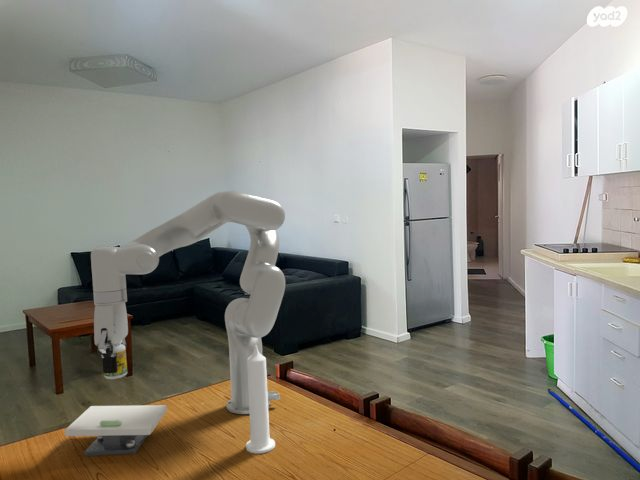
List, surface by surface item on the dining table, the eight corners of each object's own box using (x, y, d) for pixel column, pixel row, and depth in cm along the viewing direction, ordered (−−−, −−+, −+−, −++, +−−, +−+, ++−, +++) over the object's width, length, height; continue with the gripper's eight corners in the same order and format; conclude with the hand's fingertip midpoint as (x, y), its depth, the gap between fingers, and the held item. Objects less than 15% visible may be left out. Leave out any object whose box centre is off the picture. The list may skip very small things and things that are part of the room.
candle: (279, 441, 121) (275, 341, 120) (267, 455, 115) (262, 350, 113) (254, 438, 124) (249, 340, 122) (240, 451, 117) (235, 348, 115)
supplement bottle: (124, 370, 127) (122, 334, 126) (129, 376, 122) (127, 338, 122) (102, 375, 124) (99, 337, 123) (106, 381, 119) (103, 342, 119)
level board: (166, 410, 131) (166, 400, 131) (149, 434, 117) (149, 423, 117) (91, 411, 131) (90, 401, 131) (65, 436, 117) (64, 424, 117)
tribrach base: (152, 429, 131) (151, 413, 131) (135, 453, 118) (133, 436, 118) (106, 431, 131) (105, 415, 130) (84, 456, 118) (83, 438, 117)
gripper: (109, 291, 130) (113, 358, 132) (79, 304, 113) (84, 381, 114) (137, 290, 130) (142, 357, 132) (111, 303, 113) (117, 380, 115)
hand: (115, 367), depth 123 cm, fingers closed on supplement bottle, 5 cm apart
